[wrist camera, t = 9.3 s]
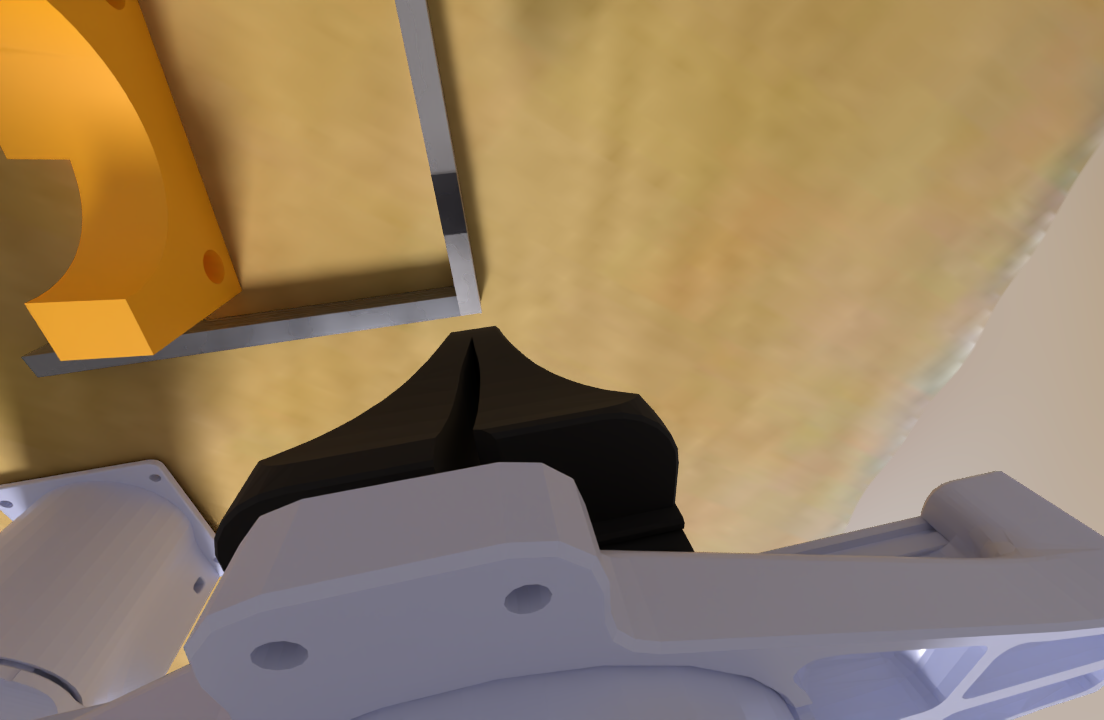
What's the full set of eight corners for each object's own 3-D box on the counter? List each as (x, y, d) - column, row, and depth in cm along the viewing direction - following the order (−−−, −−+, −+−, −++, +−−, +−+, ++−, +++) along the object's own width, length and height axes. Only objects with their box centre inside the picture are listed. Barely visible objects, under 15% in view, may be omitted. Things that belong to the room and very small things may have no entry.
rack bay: (480, 301, 21) (481, 313, 20) (66, 360, 19) (35, 378, 18) (379, -267, 12) (368, -317, 11) (-422, -277, 10) (-564, -341, 9)
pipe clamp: (-49, -81, 13) (-450, -246, 7) (116, -68, 13) (-130, -206, 8) (135, 294, 18) (-7, 364, 13) (243, 289, 19) (153, 355, 14)
